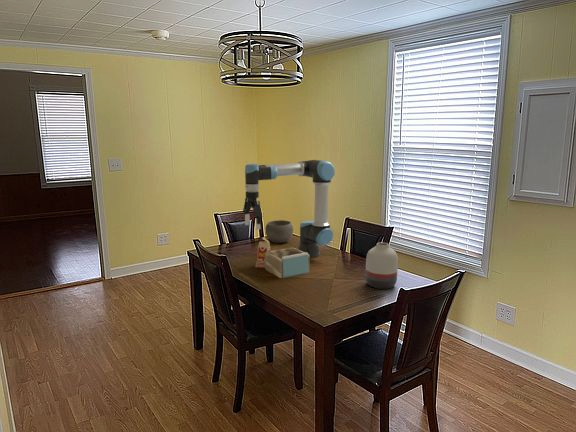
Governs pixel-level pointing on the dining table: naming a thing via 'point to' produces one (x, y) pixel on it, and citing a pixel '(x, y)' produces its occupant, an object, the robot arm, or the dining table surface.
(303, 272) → the light blue flat panel
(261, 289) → the dining table surface
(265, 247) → the milk carton
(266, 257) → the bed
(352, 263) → the dining table surface
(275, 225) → the bowl
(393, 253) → the vase
